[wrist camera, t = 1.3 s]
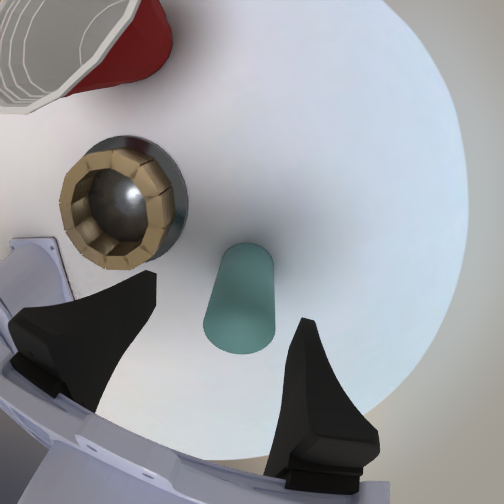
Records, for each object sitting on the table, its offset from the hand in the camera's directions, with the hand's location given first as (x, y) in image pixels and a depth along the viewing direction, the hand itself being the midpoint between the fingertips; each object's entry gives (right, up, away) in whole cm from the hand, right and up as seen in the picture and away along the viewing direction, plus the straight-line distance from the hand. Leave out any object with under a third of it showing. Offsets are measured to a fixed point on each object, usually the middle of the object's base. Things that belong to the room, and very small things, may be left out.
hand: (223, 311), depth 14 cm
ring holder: (-9, +7, +9) cm, 15 cm away
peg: (+1, +2, +11) cm, 11 cm away
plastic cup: (-7, +19, +4) cm, 20 cm away
